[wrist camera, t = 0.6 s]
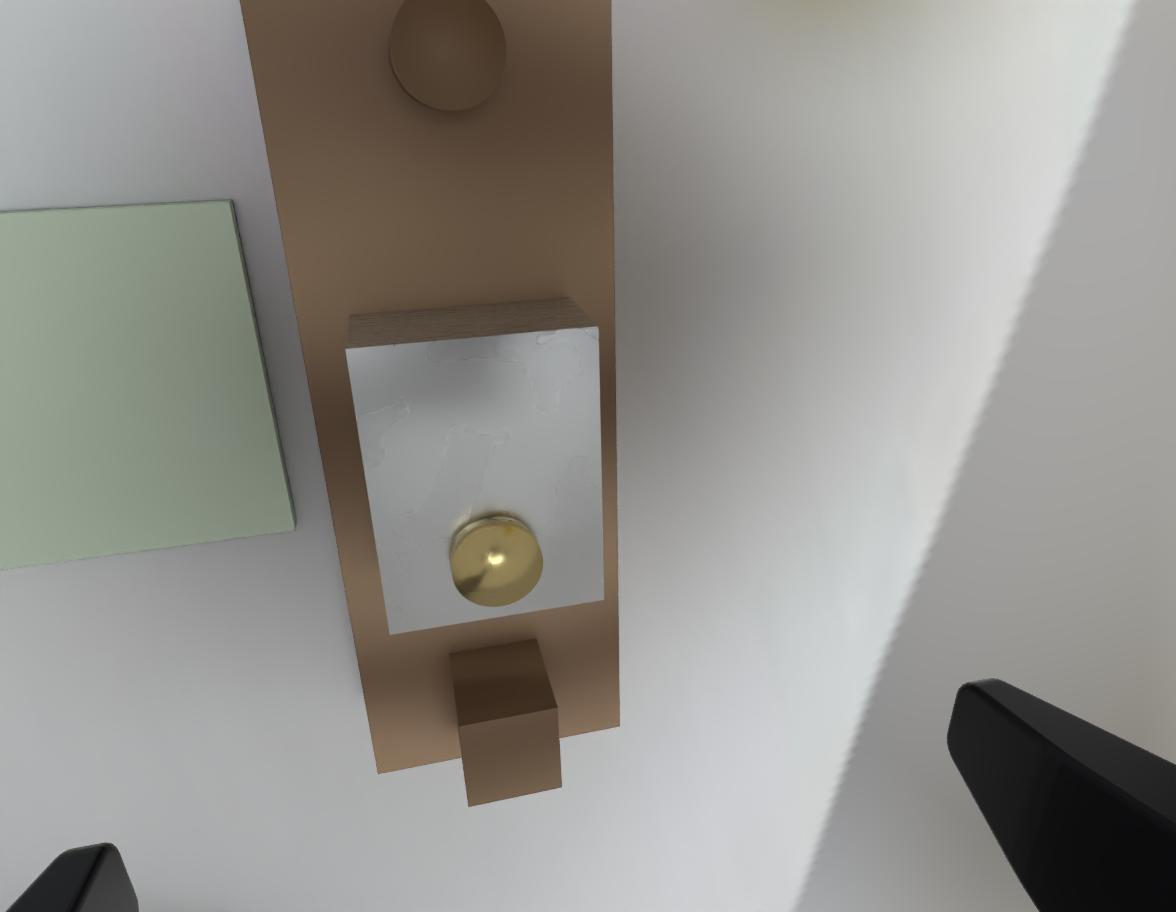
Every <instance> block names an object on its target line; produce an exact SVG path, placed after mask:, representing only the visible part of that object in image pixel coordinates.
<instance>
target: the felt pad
mask: <svg viewBox="0 0 1176 912" xmlns="http://www.w3.org/2000/svg"><path fill="white" fill-rule="evenodd" d="M296 524H297V523H296V518H295V513H294V508H293V503H292V498H291V493H290V488H289V483H288V478H287V473H286V468H285V463H284V458H283V453H282V448H281V443H280V438H279V433H278V428H277V423H276V418H275V413H274V408H273V403H272V398H271V393H270V388H269V383H268V378H267V373H266V368H265V363H264V358H263V353H262V348H261V343H260V338H259V333H258V328H257V323H256V318H255V313H254V308H253V303H252V298H251V293H250V288H249V283H248V278H247V273H246V268H245V263H244V258H243V253H242V248H241V243H240V238H239V233H238V228H237V223H236V218H235V213H234V208H233V203H232V200H218V201H199V202H179V203H160V204H141V205H121V206H102V207H82V208H63V209H43V210H24V211H4V212H0V570H5V569H12V568H20V567H27V566H35V565H42V564H50V563H57V562H65V561H72V560H80V559H87V558H94V557H102V556H109V555H117V554H124V553H132V552H139V551H147V550H154V549H162V548H169V547H177V546H184V545H192V544H199V543H206V542H214V541H221V540H229V539H236V538H244V537H251V536H259V535H266V534H274V533H281V532H289V531H295V529H296Z"/></svg>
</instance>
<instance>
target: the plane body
mask: <svg viewBox="0 0 1176 912" xmlns="http://www.w3.org/2000/svg"><path fill="white" fill-rule="evenodd" d="M240 4H241V9H242V15H243V21H244V26H245V32H246V37H247V43H248V49H249V54H250V60H251V65H252V71H253V77H254V82H255V88H256V93H257V99H258V105H259V110H260V116H261V121H262V127H263V133H264V138H265V144H266V150H267V155H268V161H269V166H270V172H271V178H272V183H273V189H274V194H275V200H276V206H277V211H278V217H279V222H280V228H281V234H282V239H283V245H284V250H285V256H286V262H287V267H288V273H289V278H290V284H291V290H292V295H293V301H294V306H295V312H296V318H297V323H298V329H299V334H300V340H301V346H302V351H303V357H304V362H305V368H306V374H307V379H308V385H309V390H310V396H311V402H312V407H313V413H314V419H315V424H316V430H317V435H318V441H319V447H320V452H321V458H322V463H323V469H324V475H325V480H326V486H327V491H328V497H329V503H330V508H331V514H332V519H333V525H334V531H335V536H336V542H337V547H338V553H339V559H340V564H341V570H342V575H343V581H344V587H345V592H346V598H347V603H348V609H349V615H350V620H351V626H352V631H353V637H354V643H355V648H356V654H357V659H358V665H359V671H360V676H361V682H362V688H363V693H364V699H365V704H366V710H367V716H368V721H369V727H370V732H371V738H372V744H373V749H374V755H375V760H376V766H377V772H378V774H381V773H386V772H391V771H396V770H402V769H407V768H412V767H417V766H422V765H427V764H432V763H437V762H442V761H447V760H452V759H457V758H462V763H463V770H464V777H465V785H466V792H467V799H468V807H471V806H476V805H480V804H485V803H490V802H495V801H499V800H504V799H509V798H513V797H518V796H523V795H528V794H532V793H537V792H542V791H547V790H551V789H556V788H561V787H562V780H561V761H560V742H559V738H563V737H568V736H573V735H578V734H583V733H588V732H593V731H598V730H603V729H608V728H613V727H618V726H620V701H619V618H618V535H617V452H616V369H615V286H614V203H613V120H612V37H611V0H240ZM559 297H570V298H571V299H572V300H573V301H574V302H575V303H576V304H577V305H578V306H579V307H580V308H581V309H582V310H583V311H584V312H585V313H586V314H587V315H588V316H589V317H590V318H591V319H592V320H593V321H594V322H595V323H596V324H597V325H598V326H599V371H600V419H601V468H602V516H603V564H604V600H600V601H594V602H588V603H582V604H576V605H570V606H563V607H557V608H551V609H545V610H539V611H533V612H527V613H521V614H515V615H508V616H502V617H496V618H490V619H484V620H478V621H472V622H466V623H460V624H453V625H447V626H441V627H435V628H429V629H423V630H417V631H411V632H404V633H398V634H392V635H390V633H389V627H388V620H387V614H386V608H385V601H384V595H383V588H382V582H381V575H380V569H379V563H378V556H377V550H376V543H375V537H374V530H373V524H372V517H371V511H370V505H369V498H368V492H367V485H366V479H365V472H364V466H363V460H362V453H361V447H360V440H359V434H358V427H357V421H356V415H355V408H354V402H353V395H352V389H351V382H350V376H349V370H348V363H347V357H346V350H345V347H346V338H347V329H348V320H349V315H351V314H363V313H375V312H387V311H400V310H412V309H424V308H436V307H449V306H461V305H473V304H485V303H498V302H510V301H522V300H534V299H547V298H559Z"/></svg>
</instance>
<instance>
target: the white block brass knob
mask: <svg viewBox="0 0 1176 912" xmlns="http://www.w3.org/2000/svg"><path fill="white" fill-rule="evenodd" d="M345 350H346V357H347V363H348V370H349V376H350V382H351V389H352V395H353V402H354V408H355V415H356V421H357V427H358V434H359V440H360V447H361V453H362V460H363V466H364V472H365V479H366V485H367V492H368V498H369V505H370V511H371V517H372V524H373V530H374V537H375V543H376V550H377V556H378V563H379V569H380V575H381V582H382V588H383V595H384V601H385V608H386V614H387V620H388V627H389V633H390V635H392V634H398V633H404V632H411V631H417V630H423V629H429V628H435V627H441V626H447V625H453V624H460V623H466V622H472V621H478V620H484V619H490V618H496V617H502V616H508V615H515V614H521V613H527V612H533V611H539V610H545V609H551V608H557V607H563V606H570V605H576V604H582V603H588V602H594V601H600V600H604V564H603V516H602V468H601V419H600V371H599V326H598V325H597V324H596V323H595V322H594V321H593V320H592V319H591V318H590V317H589V316H588V315H587V314H586V313H585V312H584V311H583V310H582V309H581V308H580V307H579V306H578V305H577V304H576V303H575V302H574V301H573V300H572V299H571V298H570V297H559V298H547V299H534V300H522V301H510V302H498V303H485V304H473V305H461V306H449V307H436V308H424V309H412V310H400V311H387V312H375V313H363V314H351V315H349V320H348V329H347V338H346V347H345Z"/></svg>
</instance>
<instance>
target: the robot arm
mask: <svg viewBox="0 0 1176 912" xmlns="http://www.w3.org/2000/svg"><path fill="white" fill-rule="evenodd" d="M947 744H948V749H949V752H950V755H951V757H952V759H953V761H954V763H955V765H956V767H957V769H958V770H959V772H960V774H961V776H962V778H963V780H964V781H965V783H966V785H967V787H968V788H969V791H970V792H971V794H972V796H973V798H974V799H975V802H976V803H977V805H978V807H979V809H980V811H981V812H982V814H983V816H984V818H985V820H986V822H987V823H988V825H989V827H990V829H991V831H992V833H993V834H994V836H995V838H996V840H997V842H998V844H999V846H1000V847H1001V849H1002V851H1003V853H1004V855H1005V857H1006V858H1007V860H1008V862H1009V863H1010V865H1011V867H1012V869H1013V871H1014V872H1015V874H1016V876H1017V877H1018V879H1019V881H1020V883H1021V884H1022V886H1023V887H1024V889H1025V890H1026V892H1027V893H1028V895H1029V896H1030V898H1031V900H1032V901H1033V903H1034V905H1035V906H1036V908H1037V909H1038V910H1039V912H1176V765H1175V764H1173V763H1171V762H1169V761H1167V760H1165V759H1163V758H1161V757H1159V756H1157V755H1155V754H1153V753H1150V752H1149V751H1147V750H1144V749H1142V748H1140V747H1138V746H1136V745H1134V744H1132V743H1130V742H1128V741H1126V740H1124V739H1121V738H1120V737H1117V736H1116V735H1114V734H1111V733H1109V732H1107V731H1105V730H1103V729H1101V728H1099V727H1097V726H1095V725H1093V724H1091V723H1089V722H1087V721H1085V720H1083V719H1081V718H1078V717H1076V716H1074V715H1072V714H1070V713H1068V712H1066V711H1064V710H1062V709H1060V708H1058V707H1056V706H1054V705H1052V704H1050V703H1048V702H1045V701H1043V700H1041V699H1039V698H1037V697H1035V696H1033V695H1031V694H1029V693H1027V692H1025V691H1023V690H1020V689H1019V688H1016V687H1014V686H1012V685H1010V684H1008V683H1006V682H1004V681H1002V680H999V679H994V678H989V679H983V680H978V681H972V682H967V683H965V684H963V685H962V686H961V687H960V688H959V689H958V692H957V694H956V699H955V703H954V707H953V711H952V715H951V720H950V724H949V728H948V732H947ZM6 912H139V908H138V901H137V897H136V894H135V891H134V889H133V886H132V883H131V881H130V878H129V876H128V873H127V871H126V868H125V865H124V863H123V860H122V858H121V855H120V853H119V851H118V849H117V847H116V846H114V845H113V844H111V843H100V844H95V845H89V846H84V847H79V848H73V849H69V850H67V851H65V852H63V853H62V854H60V855H59V856H58V857H57V858H56V859H55V860H54V861H53V862H52V863H51V864H50V865H49V866H48V867H47V868H46V869H45V870H44V871H43V872H42V873H41V874H40V876H39V877H38V878H37V879H36V880H35V881H34V882H33V883H32V884H31V885H30V886H29V887H28V888H27V889H26V891H25V892H24V893H23V894H22V895H21V896H20V897H19V898H18V899H17V900H16V901H15V902H14V903H13V904H12V905H11V907H10V908H9V909H8V910H7V911H6Z"/></svg>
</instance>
